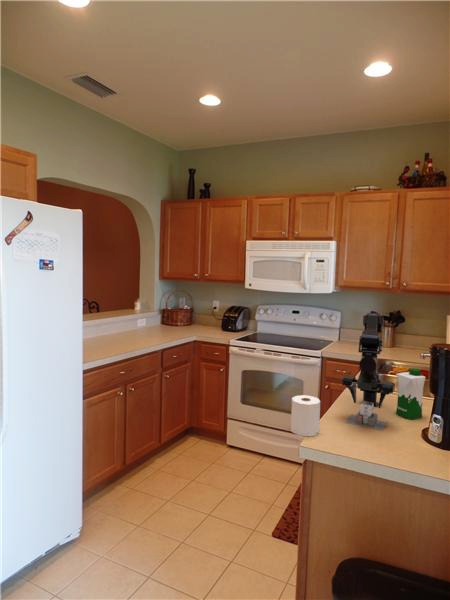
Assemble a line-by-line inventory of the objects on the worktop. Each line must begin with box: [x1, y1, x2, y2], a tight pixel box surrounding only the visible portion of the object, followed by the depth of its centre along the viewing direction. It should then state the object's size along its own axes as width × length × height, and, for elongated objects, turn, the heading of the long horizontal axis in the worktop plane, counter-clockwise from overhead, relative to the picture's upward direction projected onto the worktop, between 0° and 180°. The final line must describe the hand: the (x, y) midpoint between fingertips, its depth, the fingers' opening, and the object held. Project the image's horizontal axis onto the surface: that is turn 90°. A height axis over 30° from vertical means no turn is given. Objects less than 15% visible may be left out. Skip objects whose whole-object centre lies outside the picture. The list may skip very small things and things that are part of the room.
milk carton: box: [395, 368, 426, 421], centre depth 163 cm, size 9×9×20 cm
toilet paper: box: [290, 394, 321, 437], centre depth 149 cm, size 10×10×12 cm
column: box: [359, 400, 375, 425], centre depth 155 cm, size 5×4×8 cm
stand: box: [344, 410, 388, 432], centre depth 156 cm, size 10×14×4 cm
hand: (367, 405), depth 156 cm, fingers open, 9 cm apart
